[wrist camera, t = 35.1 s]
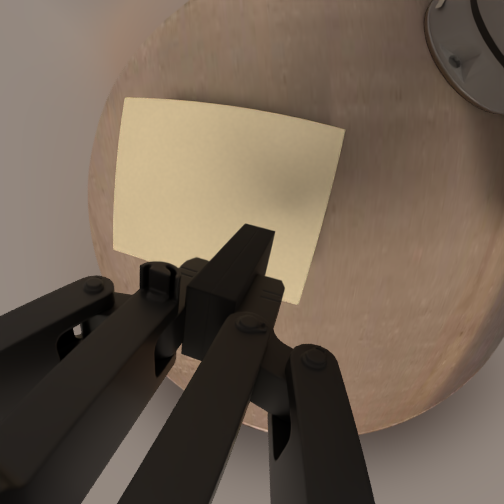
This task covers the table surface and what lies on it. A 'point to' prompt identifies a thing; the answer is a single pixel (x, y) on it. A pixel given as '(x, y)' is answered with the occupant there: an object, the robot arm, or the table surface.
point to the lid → (221, 183)
